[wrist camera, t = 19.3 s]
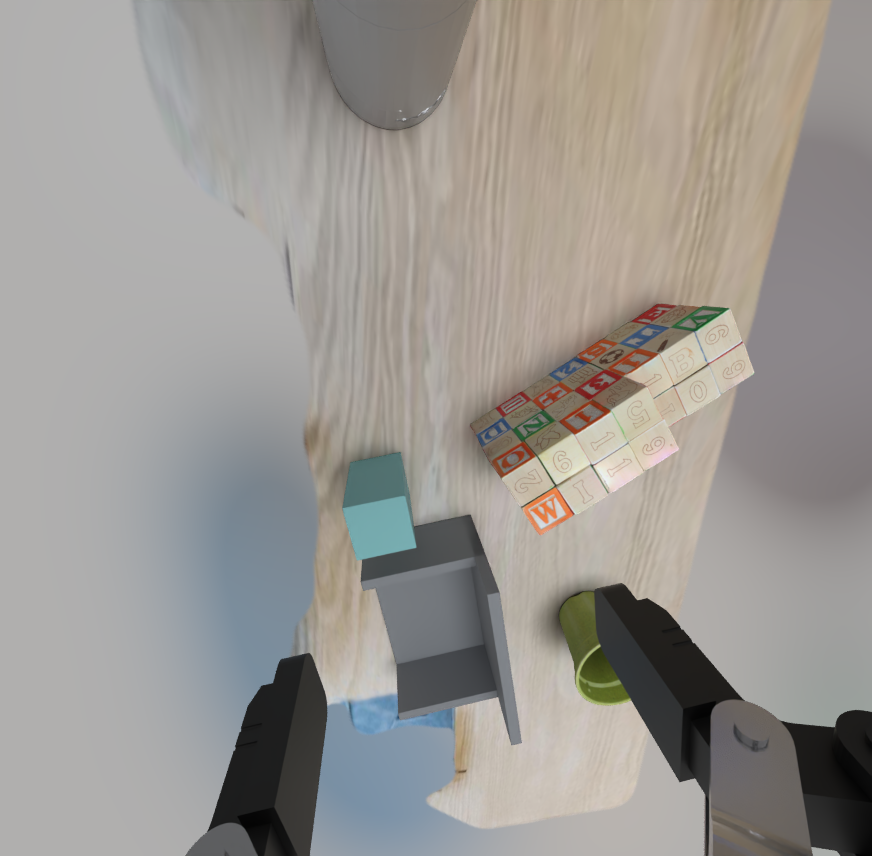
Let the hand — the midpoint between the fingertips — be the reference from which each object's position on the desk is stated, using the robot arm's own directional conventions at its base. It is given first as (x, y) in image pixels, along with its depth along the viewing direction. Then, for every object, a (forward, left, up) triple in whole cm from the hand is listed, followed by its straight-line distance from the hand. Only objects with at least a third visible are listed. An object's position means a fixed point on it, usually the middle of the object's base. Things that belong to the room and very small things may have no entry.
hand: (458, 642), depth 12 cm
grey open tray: (+22, -10, -30) cm, 39 cm away
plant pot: (+35, +4, -30) cm, 46 cm away
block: (+7, -7, -30) cm, 32 cm away
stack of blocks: (+9, +14, -30) cm, 35 cm away
